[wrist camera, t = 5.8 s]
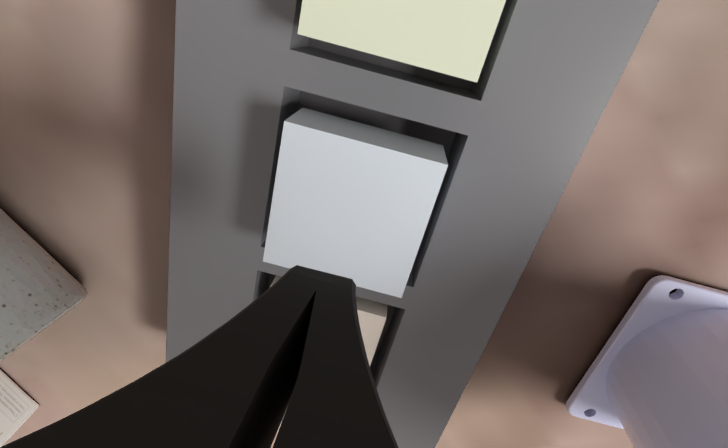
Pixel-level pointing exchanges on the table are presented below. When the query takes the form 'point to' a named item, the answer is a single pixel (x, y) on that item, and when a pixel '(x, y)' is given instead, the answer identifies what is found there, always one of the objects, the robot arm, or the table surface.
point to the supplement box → (13, 407)
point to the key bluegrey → (352, 200)
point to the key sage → (409, 30)
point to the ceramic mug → (30, 287)
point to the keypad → (404, 116)
